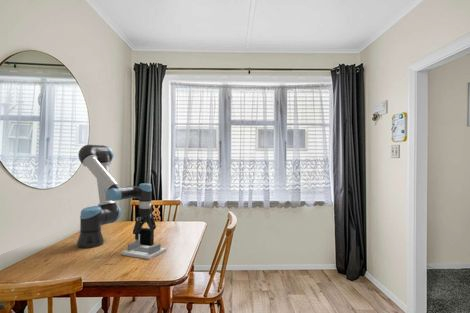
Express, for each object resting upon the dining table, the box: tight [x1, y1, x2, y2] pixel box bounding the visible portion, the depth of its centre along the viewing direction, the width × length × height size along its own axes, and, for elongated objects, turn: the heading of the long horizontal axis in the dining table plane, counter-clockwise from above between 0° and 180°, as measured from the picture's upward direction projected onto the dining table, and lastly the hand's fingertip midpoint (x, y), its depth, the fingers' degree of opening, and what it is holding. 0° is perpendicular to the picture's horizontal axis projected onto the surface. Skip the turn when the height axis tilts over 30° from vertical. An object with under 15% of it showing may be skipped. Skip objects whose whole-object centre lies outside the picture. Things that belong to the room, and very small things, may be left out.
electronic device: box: [139, 227, 155, 246], centre depth 175 cm, size 4×10×10 cm, turn 78°
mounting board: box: [120, 240, 167, 260], centre depth 159 cm, size 20×15×5 cm
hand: (144, 242), depth 174 cm, fingers open, 12 cm apart
